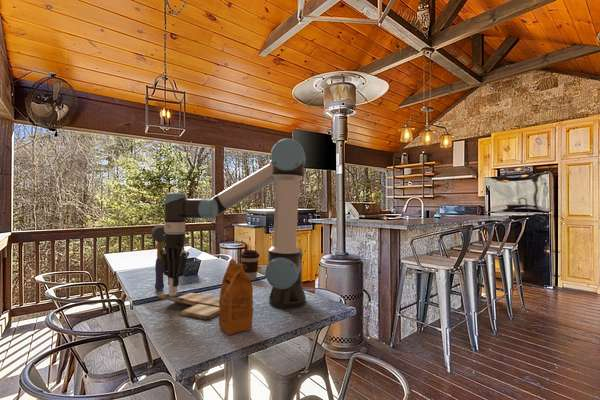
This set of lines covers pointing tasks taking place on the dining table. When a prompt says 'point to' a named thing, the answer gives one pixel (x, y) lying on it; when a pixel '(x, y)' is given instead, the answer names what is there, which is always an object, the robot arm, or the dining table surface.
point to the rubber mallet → (159, 237)
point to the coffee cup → (250, 263)
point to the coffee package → (235, 300)
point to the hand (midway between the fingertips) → (173, 294)
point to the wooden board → (201, 299)
